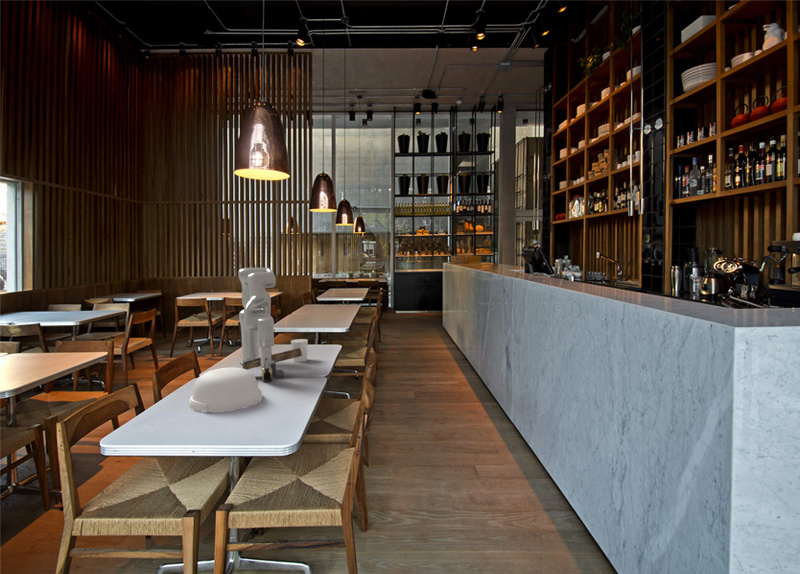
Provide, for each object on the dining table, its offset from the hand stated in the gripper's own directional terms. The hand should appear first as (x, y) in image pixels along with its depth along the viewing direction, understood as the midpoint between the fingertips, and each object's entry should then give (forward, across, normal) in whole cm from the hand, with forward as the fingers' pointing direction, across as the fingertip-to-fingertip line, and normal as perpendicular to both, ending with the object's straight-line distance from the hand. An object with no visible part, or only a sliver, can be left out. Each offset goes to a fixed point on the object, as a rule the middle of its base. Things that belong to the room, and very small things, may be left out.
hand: (267, 378), depth 241 cm
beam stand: (+2, -12, +3) cm, 13 cm away
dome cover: (+1, +28, -17) cm, 33 cm away
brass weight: (+1, 0, 0) cm, 1 cm away
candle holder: (+3, -42, +19) cm, 46 cm away
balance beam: (-6, -12, +3) cm, 14 cm away
